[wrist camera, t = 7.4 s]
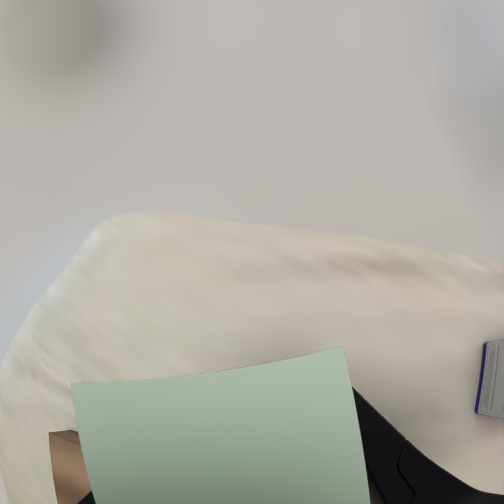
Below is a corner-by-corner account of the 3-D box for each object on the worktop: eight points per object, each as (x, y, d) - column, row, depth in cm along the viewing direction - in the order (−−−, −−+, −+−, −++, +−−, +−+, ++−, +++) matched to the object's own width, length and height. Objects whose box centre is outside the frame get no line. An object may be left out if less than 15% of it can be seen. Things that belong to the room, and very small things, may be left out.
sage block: (329, 441, 13) (376, 582, 2) (244, 455, 14) (128, 583, 3) (314, 361, 15) (343, 346, 4) (229, 377, 15) (71, 382, 4)
